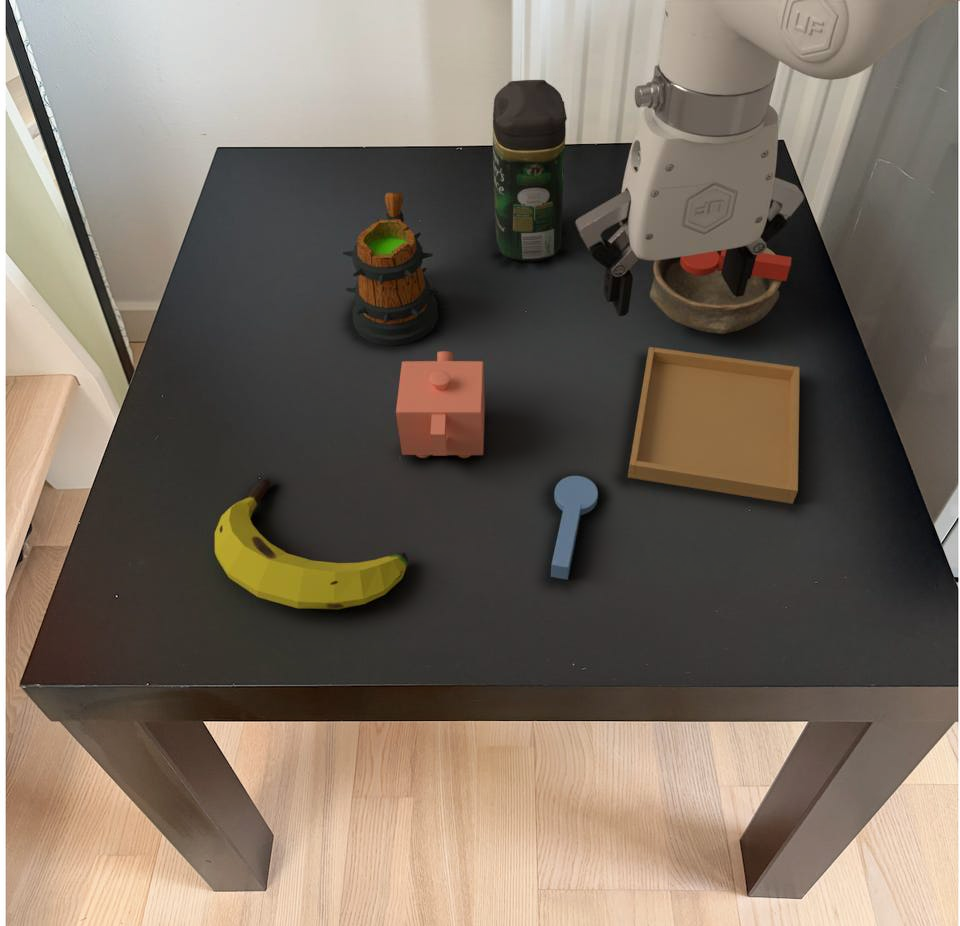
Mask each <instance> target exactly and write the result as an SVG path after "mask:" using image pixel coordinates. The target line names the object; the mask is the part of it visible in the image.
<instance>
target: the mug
mask: <svg viewBox="0 0 960 926" xmlns="http://www.w3.org/2000/svg"><path fill="white" fill-rule="evenodd" d="M384 200H385V201H384V202H385V205H386V210H387V213H386V219H377V220H375V221H374V222H373V223H372V224H370V226H368V227H367V228H365V229H364V230H363V231H362V232H360V234H359V235H358V237H357V239H356V244H355V245H354V246H353V250H348V251H343V252H342V255H343V256H344V255H345V256H347V257H351V261H352V265H353V267H354V269H355V272H354V273H353V274H352V276H353V277H357V281H356V285H355V287H346V288H345V291H346V292H350V293H352V294H354V305H353V307H352V322H353V327H354V328H355V330H356V332H357V333H358V334H359V335H360V337H362V338H363V339H365V340H367V341H369V342H370V343H372V344H376V345H382V346H388V347H393V346H394V347H395V346H401V345H402V346H403V345H409V344H410V343H414V342H416V341H419V340H421V339H423V338H424V337H426V336H427V335H428V334H429V333H431V331H433V330H434V328H435V326H436V324H437V321H438V319H439V310H438V303H437V300H436V298H435V297H434V296H433V295H436V294H439V293H440V290H439V289H431V285H430V282H429V280H428V279H427V277H426V274H425V272H426V271H427V270H428V268H427V267H422V265H423V260H424V259H427V258H431V257H433V253H432V252H431V253H430V252H424V250H423V247H422V245H421V243H420V241H419V239H418V238H419V237H420V236H421V235H422V233H421V232H420V231H419V232H418V233H414V232H413V231H412V230H411V229H410V228H409V226H408V225H407V224H406V223H405V219H404V214H403V212H402V206H403V202H404V196H403V193H402V192H386V193H385V196H384Z"/></svg>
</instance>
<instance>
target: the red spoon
mask: <svg viewBox="0 0 960 926" xmlns="http://www.w3.org/2000/svg"><path fill="white" fill-rule="evenodd" d="M725 254H726V250H722V252H721V256H719V254H718V253H717V251H714V252H708V253H702V254H695V255H689V256H683V257H681V259H680V264H681V266H682V268H683V269H684V270H685V271H687V272H689V273H691V274H695V275H708V274H711V273H713V272H715V271H716V270H717V268H718V271H722V267H723V262H724V258H725ZM792 260H793V259H792V256H786V255H779V254H776V255H773V254H767V253H761V254H758V255H757V256H756V260H755V264H754V268H753V271H752V275H751V276H756V277H762V278H769V279H775V280H782V282H786V281H787V280H788V276H789V273H790V271H791V267H792Z"/></svg>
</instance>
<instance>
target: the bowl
mask: <svg viewBox="0 0 960 926" xmlns="http://www.w3.org/2000/svg"><path fill="white" fill-rule="evenodd" d="M721 252H722V250H720V251H717V253H718V254H719V256H721ZM762 253H767V254H773V255H777V254H775V252H774V251H772V250H771V249H769V248H768V247H766V249H765V251H764V252H762ZM680 259H681V257H676V258H670V259H663V260H654V261H653V268H652V269H653V281H652V284H651V288H650V290H649V297H650V299H651V301H652V302H653V303H654V304H655V305H656V306H657V307H658V308H659V309H660V310H661V311H662V312H663V314H665V315H666V316H667V317H668V318H669V319H671V320H672V321H674V322H676V323H677V324H680V325H682V326H685V327H687V328H690V329H693V330H697V331H701V332H705V333H712V334H718V335H725V334H729V333H733V332H737V331H741V330H743V329H747V328H749V327H751V326H752V325H754V324H756V323H758V322H759V321H761V320H762V319H763V318H765V316H767V315H768V314H769V312H770V311H771V310H772V309H773V307H774V306H775V304H776V303H777V301H778V299H779V297H780V291H779V290H778V289H779V288H780V286H781V284H782V282H783V281H782V280H775V279H769V278H762V277H756V276H751V278H750V279H748V281H747V285H746V289H745V293H744V295H743V296H739V297H736V296H734V295H733V293H732V292H731V290H730V289H729V287H728V285H727V284H726V282H725V280H724V279H723V277H722V274H721V271H718V268H717V270H716V271H715V272H713V273H711V274H708V275H695V274H691V273H689V272H687V271H685V270H684V269H683V268H682V266H681V264H680Z"/></svg>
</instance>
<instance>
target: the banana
mask: <svg viewBox="0 0 960 926" xmlns="http://www.w3.org/2000/svg"><path fill="white" fill-rule="evenodd" d="M270 486H271V482H270V478H265V479H264V480H262V481H260V482H257V483H256V484H255V485H254V487H252V488H251V490H250V491H249V493H248V495H247V496H246V497H245V498H244V499H242V500H239V501H237V502H235V503H234V504H233V505H231V506H230V507H229V508H227V510H226V511H225V512H224V513H223V514H222V515H220V518H219V520H218V524H217V526H216V529H215V531H214V555H215V557H216V559H217V561H218V563H219V564H220V566H221V567H222V570H224V573H225V574H226V575H227V577H228V579H230V580H231V581H232V582H235V584H238V586H240V587H242V588H243V589H245V590H247V592H249V593H251V594H253V595H254V596H255V597H257V598H259V599H262V600H266V601H269V602H274V603H277V604H281V605H284V606H288V607H292V608H295V609H309V610H311V609H313V610H314V609H315V610H342V609H346V608H353V607H356V606H362V605H366V604H367V603H369V602H372V601H374V600H376V599H379V598H381V597H383V596H384V595H386V594H387V593H388V592H389V591H391V589H393V588H394V587H395V586H396V585H397V584H398V583H400V582H401V580H402V579H403V577H404V575H405V573H406V570H407V568H408V565H409V558H408V556H407V553H405V552H398V553H396V554H392V555H388V556H387V555H386V556H383V557H379V558H376V559H371V560H365V561H359V562H333V561H332V562H331V561H319V560H313V559H308V558H306V557H302V556H297V555H294V554H291V553H287V552H286V551H285V550H283V549H281V548H279V547H277V546H276V545H274V544H272V543H271V542H270V541H268V540H267V539H266V538H265V537H264V536H263V535H262V534H261V533H260V532H259V530H258V529H257V528H256V527H255V526H254V524H253V522H252V520H251V518H252V515H253V513H254V511H255V509H256V507H257V506H258V505H259V503H260V502H261V501H262V500H263V498H264V496H265V495H266V493H267V491H268V489H269V488H270Z"/></svg>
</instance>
